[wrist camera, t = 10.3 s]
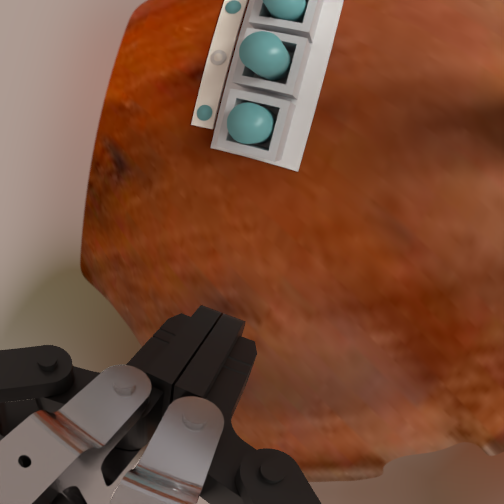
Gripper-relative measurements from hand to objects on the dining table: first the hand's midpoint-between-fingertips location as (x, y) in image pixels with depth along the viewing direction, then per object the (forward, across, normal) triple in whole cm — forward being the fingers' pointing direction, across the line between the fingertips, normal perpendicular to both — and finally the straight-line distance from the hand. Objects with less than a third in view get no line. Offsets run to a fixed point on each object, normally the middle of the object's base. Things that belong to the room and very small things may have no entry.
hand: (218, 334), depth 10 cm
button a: (+32, +8, -22) cm, 40 cm away
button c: (+32, +8, -6) cm, 33 cm away
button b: (+30, +8, -14) cm, 34 cm away
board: (+33, +8, -14) cm, 37 cm away
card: (+33, +16, -14) cm, 39 cm away
